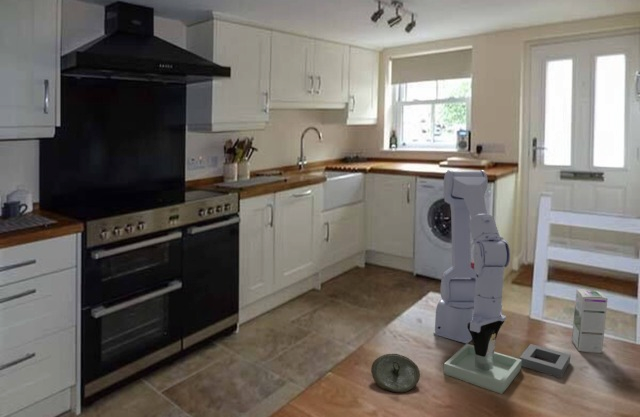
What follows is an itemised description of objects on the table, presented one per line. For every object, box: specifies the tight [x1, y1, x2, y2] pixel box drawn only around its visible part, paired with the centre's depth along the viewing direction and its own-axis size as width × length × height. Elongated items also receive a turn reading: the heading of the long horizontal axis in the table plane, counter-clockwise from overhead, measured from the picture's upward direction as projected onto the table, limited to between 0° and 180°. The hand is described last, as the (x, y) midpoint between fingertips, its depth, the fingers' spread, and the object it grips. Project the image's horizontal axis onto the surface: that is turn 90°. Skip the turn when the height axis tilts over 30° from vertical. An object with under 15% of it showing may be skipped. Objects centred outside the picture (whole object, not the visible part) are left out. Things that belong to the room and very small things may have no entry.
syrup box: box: [571, 288, 608, 354], centre depth 121 cm, size 6×6×14 cm
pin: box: [475, 332, 496, 370], centre depth 108 cm, size 4×4×8 cm
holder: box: [519, 343, 571, 379], centre depth 113 cm, size 9×9×2 cm
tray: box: [443, 343, 522, 395], centre depth 109 cm, size 13×13×2 cm
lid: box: [370, 353, 421, 393], centre depth 105 cm, size 11×10×5 cm
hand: (484, 351), depth 108 cm, fingers closed on pin, 4 cm apart
